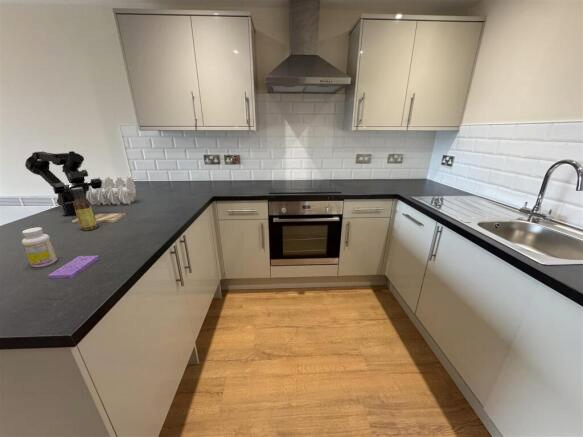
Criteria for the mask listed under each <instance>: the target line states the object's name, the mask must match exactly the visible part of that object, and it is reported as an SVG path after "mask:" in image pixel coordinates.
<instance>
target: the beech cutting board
mask: <svg viewBox="0 0 583 437" xmlns="http://www.w3.org/2000/svg"><path fill="white" fill-rule="evenodd" d="M94 215H95V218H96V221H97V224H98V223H115V222H117V221H118V220H120V219H123V218H124V217H126V216H127V214H126V213H124V212H123V213H121V212H119V213H94ZM71 222H72V224H80V223H79V220H78V217H77V218H75V219H73V220H71Z"/></svg>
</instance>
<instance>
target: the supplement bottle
mask: <svg viewBox="0 0 583 437" xmlns="http://www.w3.org/2000/svg"><path fill="white" fill-rule="evenodd" d="M21 232H22V235H23V237H24V238H23V239H22V240H21V244H22V247H23V249H24V251H25V253H26V255H27V259H28V261H29V263H30V266H32V267H33V268H42V267H46V266H50V265H52V264H54V263H55V262H57V260H58V257H57V253H56V251H55V248H54V245H53V243H52V240H51V237H50V235H48V234H45V233H44V230H43V228H42V227H39V226H38V227H31V228H28V229H27V228H26V229H24V230H23V231H21Z"/></svg>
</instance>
